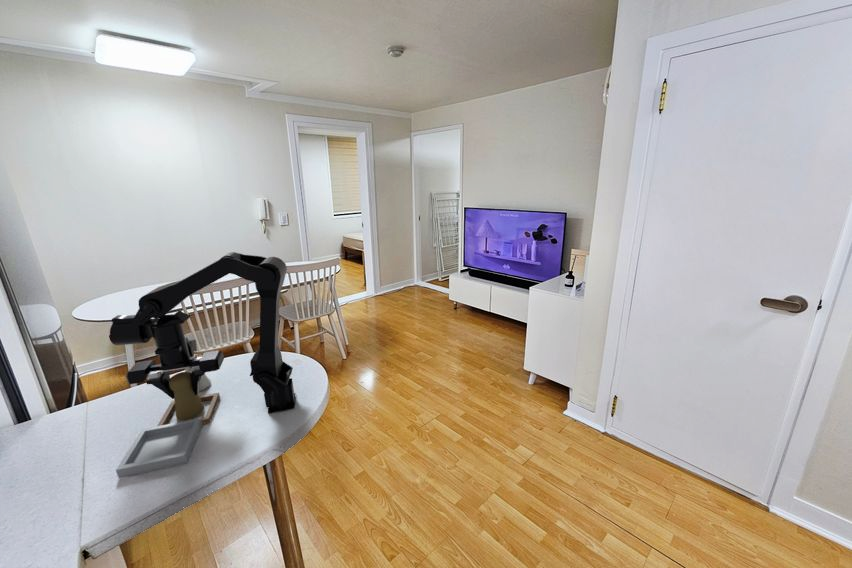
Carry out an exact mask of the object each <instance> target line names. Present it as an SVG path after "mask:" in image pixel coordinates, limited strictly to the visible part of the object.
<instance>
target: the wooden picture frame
mask: <svg viewBox="0 0 852 568" xmlns="http://www.w3.org/2000/svg"><path fill="white" fill-rule="evenodd" d="M199 397H200V399H201V402H202V403H206V402H207V403H208V402H210V404H209V406H208V409H207V411H206V414H205V416H204V417H200V418H201V421H202V424H203V426H207V425H210V424H211V422H212V420H213V417H214V414H215V411H216V408H217V406H218V403H219V401H220V398H221V396H220V392H213V393H208V394H203V395H199ZM174 412H176V410H175V400H174V399H173V400H171V402H170V404H169V405H168V407H167V408H166V409H165V412H164V414H163V415H162V417H161V419H160V421H159V422H158V424H157V426H161V425H166V424H169V421H170V419H172V416H173V414H174Z"/></svg>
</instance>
